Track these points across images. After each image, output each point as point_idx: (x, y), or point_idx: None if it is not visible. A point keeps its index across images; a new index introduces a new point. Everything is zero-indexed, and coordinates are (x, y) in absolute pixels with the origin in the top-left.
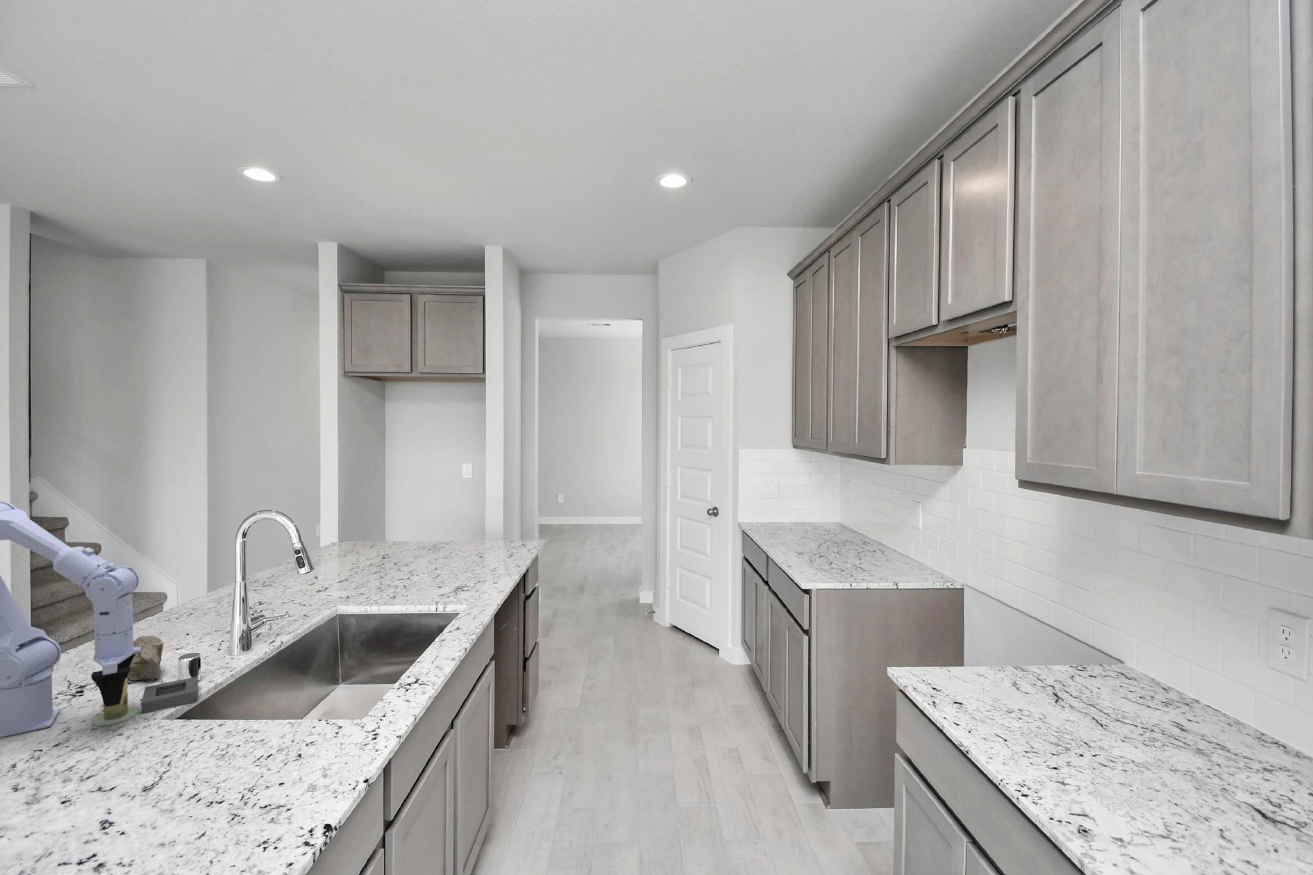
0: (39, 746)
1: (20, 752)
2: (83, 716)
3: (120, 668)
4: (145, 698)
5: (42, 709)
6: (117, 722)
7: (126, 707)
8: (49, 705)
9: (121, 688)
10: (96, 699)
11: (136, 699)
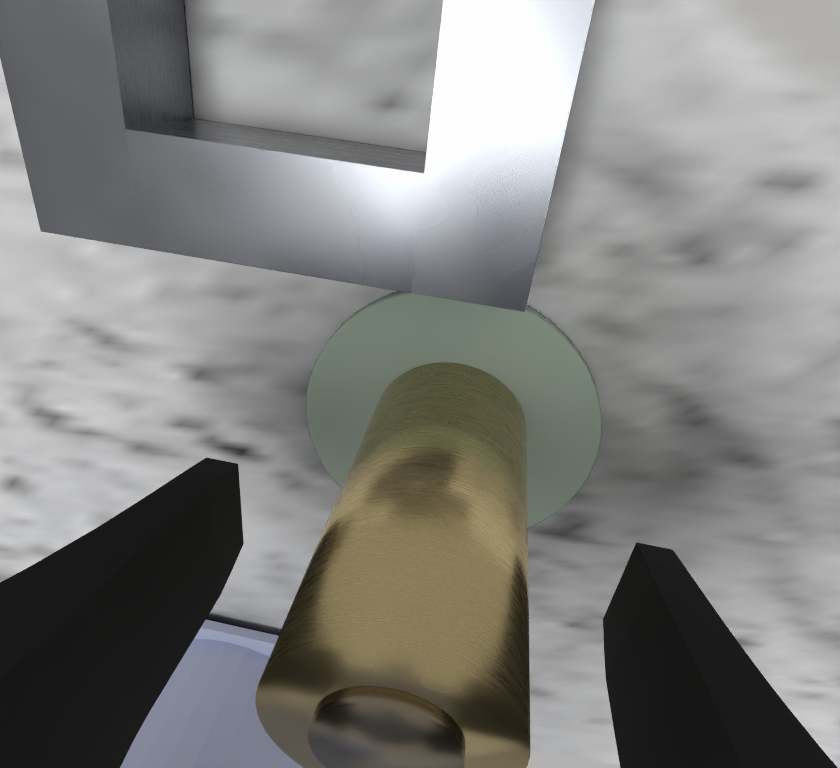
0: (591, 702)
1: (597, 744)
2: (281, 538)
3: (48, 737)
4: (414, 264)
5: (268, 762)
6: (596, 431)
7: (484, 406)
8: (223, 740)
9: (809, 745)
10: (14, 459)
11: (136, 269)
